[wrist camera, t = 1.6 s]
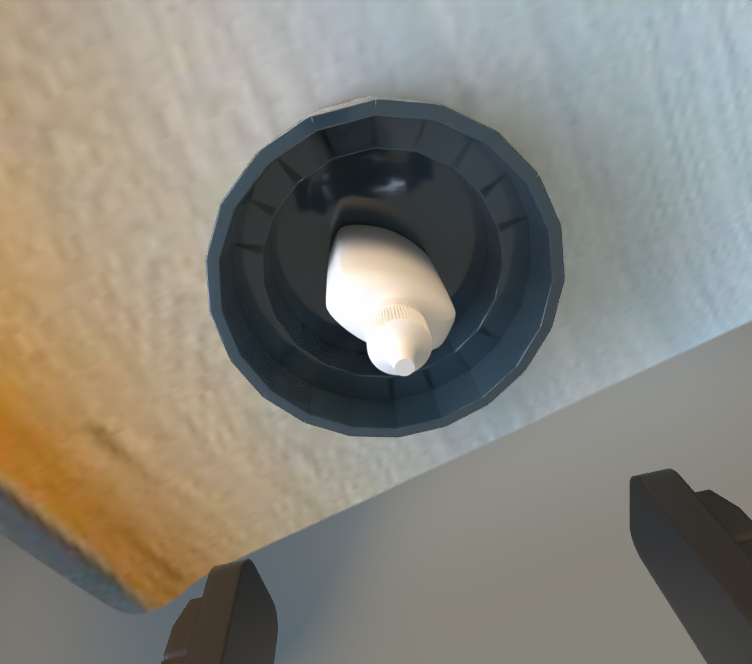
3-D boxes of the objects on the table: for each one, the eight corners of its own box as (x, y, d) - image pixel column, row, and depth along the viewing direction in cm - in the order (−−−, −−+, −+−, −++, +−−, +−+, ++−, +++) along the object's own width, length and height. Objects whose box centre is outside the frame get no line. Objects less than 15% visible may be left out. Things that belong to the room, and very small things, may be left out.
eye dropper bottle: (380, 315, 29) (403, 449, 18) (317, 244, 27) (300, 348, 16) (440, 270, 28) (501, 384, 17) (379, 193, 26) (406, 268, 15)
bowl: (186, 144, 25) (142, 160, 19) (503, 59, 24) (550, 51, 18) (287, 402, 32) (275, 466, 26) (533, 344, 31) (572, 397, 26)
